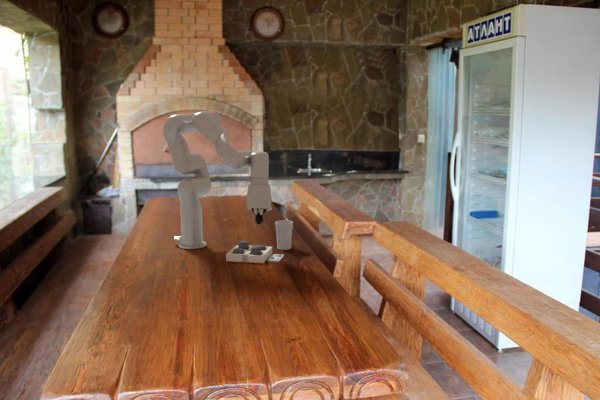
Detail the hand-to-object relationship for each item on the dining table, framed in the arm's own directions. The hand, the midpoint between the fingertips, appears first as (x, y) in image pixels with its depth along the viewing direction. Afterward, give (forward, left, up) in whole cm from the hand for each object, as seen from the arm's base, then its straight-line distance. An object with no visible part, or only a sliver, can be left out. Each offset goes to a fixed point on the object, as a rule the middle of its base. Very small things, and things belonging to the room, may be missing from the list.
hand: (259, 223), depth 244 cm
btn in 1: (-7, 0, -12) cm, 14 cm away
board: (-3, -4, -14) cm, 15 cm away
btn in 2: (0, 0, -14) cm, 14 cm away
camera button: (-7, -7, -13) cm, 17 cm away
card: (+8, -4, -14) cm, 17 cm away
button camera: (0, -7, -12) cm, 14 cm away
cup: (+8, +14, -14) cm, 21 cm away
